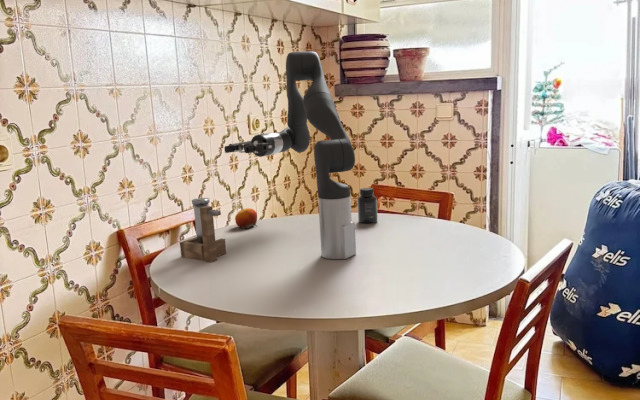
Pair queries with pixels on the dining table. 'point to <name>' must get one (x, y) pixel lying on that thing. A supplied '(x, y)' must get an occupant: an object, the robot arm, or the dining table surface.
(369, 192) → the supplement bottle
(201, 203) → the pin
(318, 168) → the robot arm
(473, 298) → the dining table surface
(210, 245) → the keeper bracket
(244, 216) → the fruit
